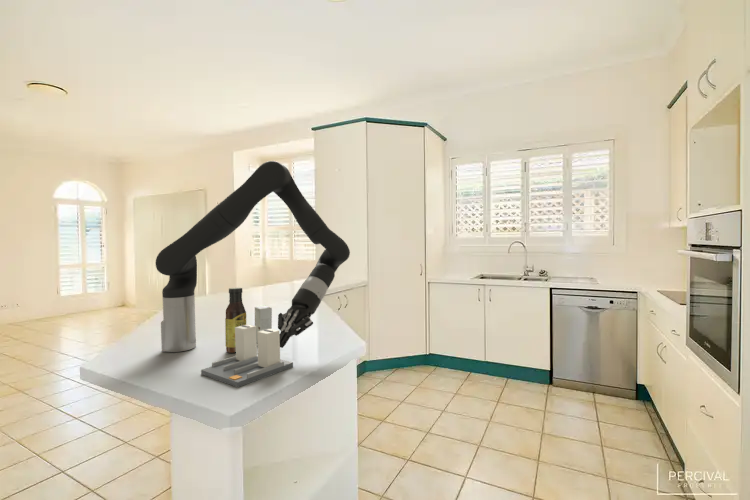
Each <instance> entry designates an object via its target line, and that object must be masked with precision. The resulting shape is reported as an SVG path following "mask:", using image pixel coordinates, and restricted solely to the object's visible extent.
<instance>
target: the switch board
mask: <svg viewBox="0 0 750 500" xmlns="http://www.w3.org/2000/svg"><path fill="white" fill-rule="evenodd" d="M293 367H294V362H292V361H289V360H285V359H281V358H280V362H279V363H276V364H273V365H271V366H268V367H265V368H264V367H261V366H258V352H257V356H255V357H252V358H249V359H245V360H242V361H240V360H236V355H233V356H230V357H227V358H223V359H219V360H216V361H214V362H212V363H211V366H209V367H205V368H202V369H201V370H200V375H203V376H205V377H208V378H210V379H213V380H216V381H220V382H222V383H225V384H227V385H230V386H233V387H236V388H241V387H243V386H246V385H248V384H250V383H253V382H256V381H259V380H261V379H265V378H267V377H269V376H273V375H274V374H277V373H280V372H283V371H286V370H288V369H289V370H290V369H291V368H293Z"/></svg>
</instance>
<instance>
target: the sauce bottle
mask: <svg viewBox="0 0 750 500" xmlns="http://www.w3.org/2000/svg"><path fill="white" fill-rule="evenodd" d="M228 294H229V297H228V299H229V301H228V303H229V304H227V307H226V310H225V318H224V319H225V320H224V321H225V323H224V324H225V326H224V327H225V351H226V353H228V354H236V353H235V352H236V346H235V327H239V326H242V325H247V311H246V308H245V305H244V303H243V287H230V288H228Z"/></svg>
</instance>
